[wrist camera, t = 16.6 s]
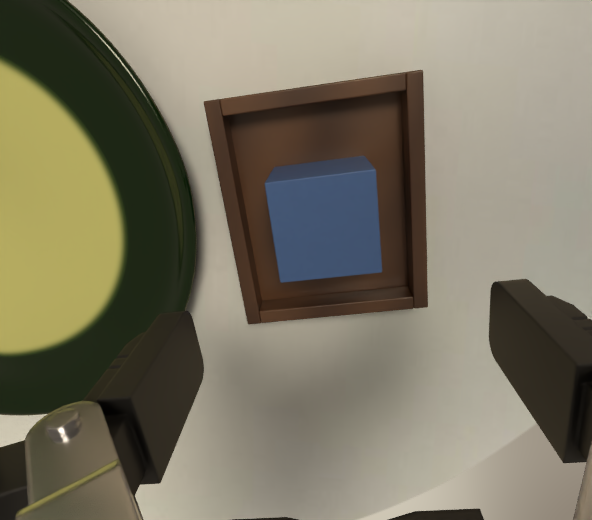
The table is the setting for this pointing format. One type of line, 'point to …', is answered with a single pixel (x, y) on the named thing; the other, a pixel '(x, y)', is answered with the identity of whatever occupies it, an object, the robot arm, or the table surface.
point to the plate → (80, 207)
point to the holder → (320, 147)
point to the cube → (325, 219)
